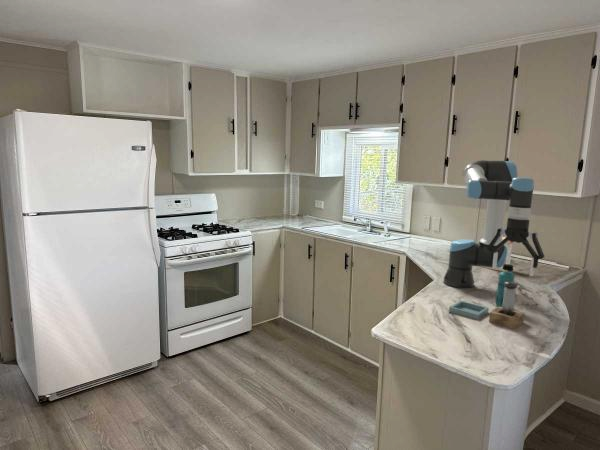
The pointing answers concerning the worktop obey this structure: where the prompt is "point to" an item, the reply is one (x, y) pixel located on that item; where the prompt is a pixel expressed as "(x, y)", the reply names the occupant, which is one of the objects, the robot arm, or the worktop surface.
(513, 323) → the socket block
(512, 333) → the worktop surface
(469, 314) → the tray
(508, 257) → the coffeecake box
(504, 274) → the beverage bottle
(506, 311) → the steel pin
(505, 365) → the worktop surface
